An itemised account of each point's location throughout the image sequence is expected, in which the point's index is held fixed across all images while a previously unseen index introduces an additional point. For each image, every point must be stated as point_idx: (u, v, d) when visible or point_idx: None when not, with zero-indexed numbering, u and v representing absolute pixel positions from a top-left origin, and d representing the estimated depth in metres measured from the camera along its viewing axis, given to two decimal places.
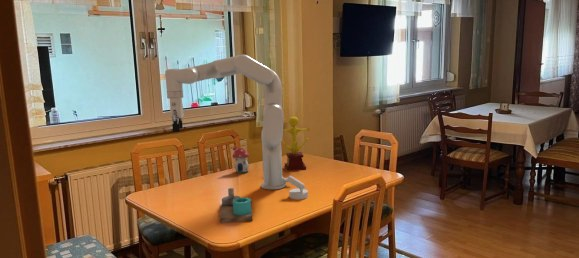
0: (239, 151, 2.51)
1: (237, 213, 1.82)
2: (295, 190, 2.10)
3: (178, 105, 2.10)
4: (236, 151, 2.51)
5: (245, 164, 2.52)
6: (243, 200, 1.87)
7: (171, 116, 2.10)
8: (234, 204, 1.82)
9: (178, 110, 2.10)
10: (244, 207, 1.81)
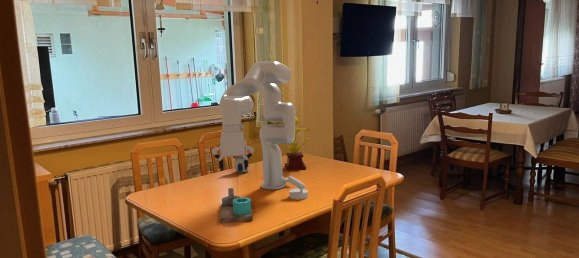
0: None
1: (237, 213, 1.82)
2: (295, 190, 2.10)
3: None
4: None
5: None
6: (243, 200, 1.87)
7: (244, 152, 1.82)
8: (234, 204, 1.82)
9: None
10: (244, 207, 1.81)
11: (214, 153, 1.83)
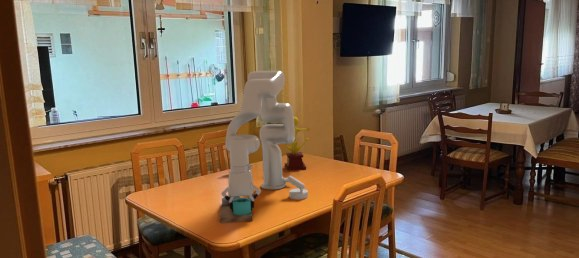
0: None
1: (237, 213, 1.82)
2: (295, 190, 2.10)
3: None
4: None
5: None
6: (243, 200, 1.87)
7: None
8: (234, 204, 1.82)
9: None
10: (244, 207, 1.81)
11: (224, 195, 1.83)
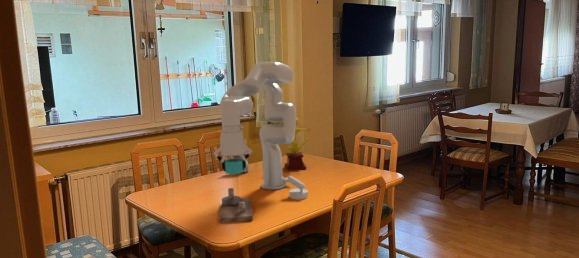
0: None
1: (229, 172, 1.86)
2: (295, 190, 2.10)
3: None
4: None
5: None
6: (235, 160, 1.91)
7: (244, 151, 1.87)
8: (226, 164, 1.86)
9: None
10: (236, 166, 1.86)
11: (216, 155, 1.87)
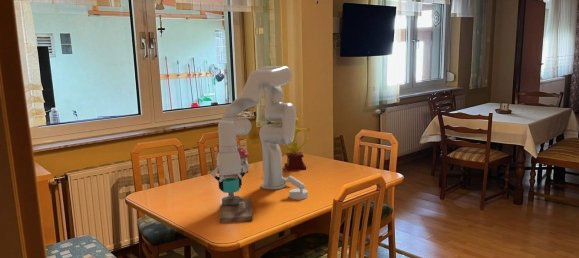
0: (239, 151, 2.51)
1: (228, 191, 1.92)
2: (295, 190, 2.10)
3: None
4: None
5: (245, 164, 2.52)
6: (230, 179, 1.97)
7: (241, 170, 1.94)
8: (224, 183, 1.92)
9: None
10: (234, 185, 1.92)
11: (214, 175, 1.91)
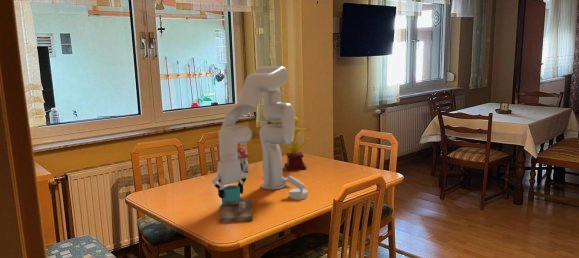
0: (239, 151, 2.51)
1: (230, 200, 1.93)
2: (295, 190, 2.10)
3: None
4: None
5: (245, 164, 2.52)
6: None
7: (241, 177, 1.96)
8: (227, 192, 1.92)
9: None
10: (237, 193, 1.94)
11: (215, 183, 1.90)
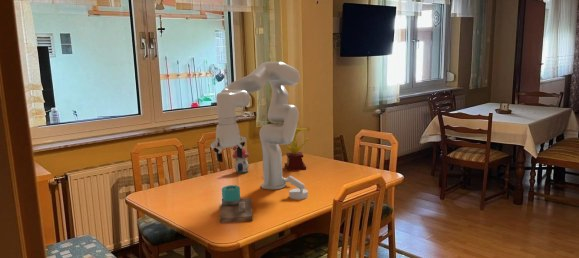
0: None
1: (230, 200, 1.93)
2: (295, 190, 2.10)
3: None
4: (236, 151, 2.51)
5: (245, 164, 2.52)
6: None
7: (240, 141, 1.96)
8: (227, 192, 1.92)
9: None
10: (237, 193, 1.94)
11: (213, 147, 1.90)
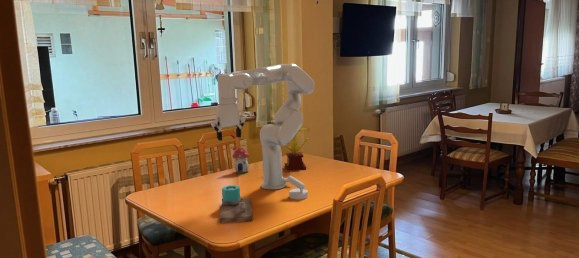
0: (239, 151, 2.51)
1: (230, 200, 1.93)
2: (295, 190, 2.10)
3: None
4: (236, 151, 2.51)
5: (245, 164, 2.52)
6: None
7: (239, 121, 2.06)
8: (227, 192, 1.92)
9: None
10: (237, 193, 1.94)
11: (214, 125, 1.99)
